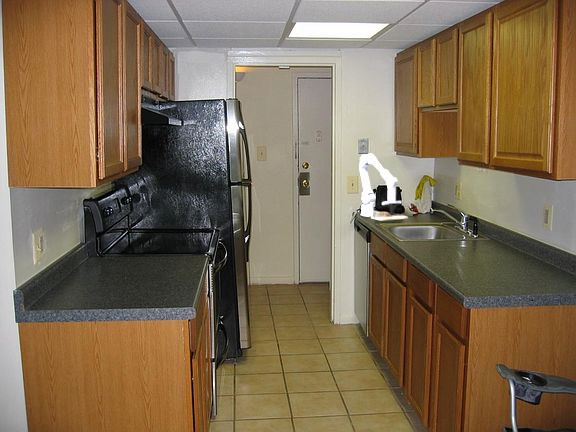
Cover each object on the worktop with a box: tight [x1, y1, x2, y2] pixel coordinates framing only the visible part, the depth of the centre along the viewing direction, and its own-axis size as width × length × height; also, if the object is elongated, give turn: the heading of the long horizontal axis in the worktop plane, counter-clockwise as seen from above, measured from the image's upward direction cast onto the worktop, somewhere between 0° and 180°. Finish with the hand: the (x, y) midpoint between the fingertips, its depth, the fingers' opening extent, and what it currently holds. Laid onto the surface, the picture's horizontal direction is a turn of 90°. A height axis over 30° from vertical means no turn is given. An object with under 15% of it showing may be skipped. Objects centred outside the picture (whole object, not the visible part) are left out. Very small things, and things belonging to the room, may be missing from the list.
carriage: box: [380, 211, 391, 216], centre depth 436 cm, size 10×3×3 cm, turn 23°
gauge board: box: [370, 210, 409, 222], centre depth 437 cm, size 13×22×5 cm, turn 113°
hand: (391, 214), depth 440 cm, fingers closed
